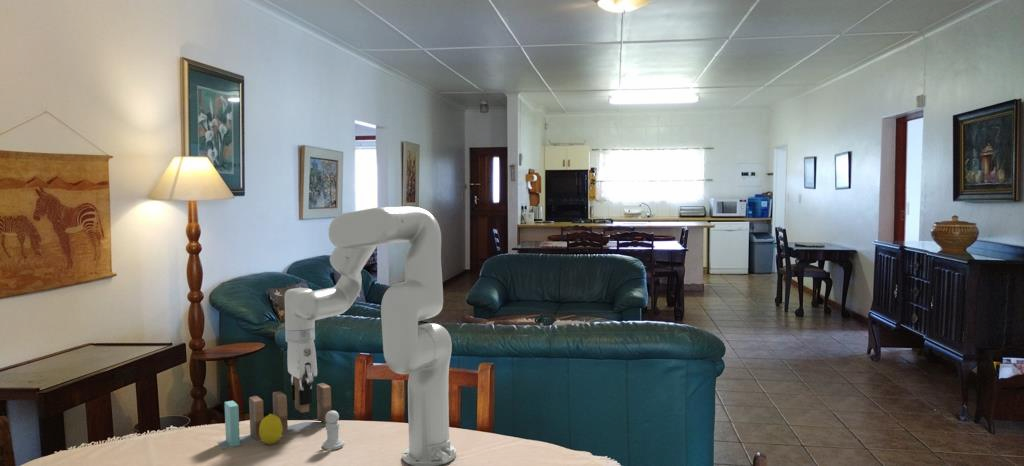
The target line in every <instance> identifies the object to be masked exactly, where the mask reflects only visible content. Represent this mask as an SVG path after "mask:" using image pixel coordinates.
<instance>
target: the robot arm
mask: <svg viewBox="0 0 1024 466" xmlns="http://www.w3.org/2000/svg"><path fill="white" fill-rule="evenodd" d="M328 238H329V240H330V242H331V244H332V245H333V246H334V247H335V248H334V250H333V251H332V252H331V253H330V255H329V264H330V265H331V267H332V268H333V269H334V270H335V271H336V272H337V273H339V274H340V278H339V279H338V280H337V282H336V284H335V285H334V286H333V287H328V288H322V289H321V288H320V289H317V290H313V289H311V288H307V287H295V288H290V289H288V290H286V291H285V293H284V327H285V335H284V337H285V342H286V343H287V351H286V352H287V355H286V358H287V359H286V363H287V372H288V373H289V374H290V377H291V378H290V385H291V400H293V401H295V386H294V377H296V378H298V379H299V382H300V390H299V404H300V405H306V404H309V405H310V404H312V402H313V399H312V398H313V393H312V391H313V390H312V389H313V382H314V378H317V376H318V367H317V366H318V365H317V364H318V363H317V362H318V361H317V352H316V345H315V341H314V340H316V327H315V326H316V323H315V322H316V321H318V320H323V319H326V318H331V317H334V316H335V317H336V316H338V315H342V314H344V313H345V312H346V311H348V310H349V309H350V308H351V306H353V304H354V302H355V300H356V299H357V298H358V296H359V294H360V293H361V290H362V283H363V282H362V281H363V278H362V273H361V272H362V270H363V269H364V267H365V266H366V264H367V262H368V261H369V259H370V258H371V256H372V255H373V253H374V252H375V250H376V248H377V247H378V246H380V245H389V244H399V243H408V244H409V246H408V248H407V251H406V253H405V257H404V270H405V271H404V273H405V274H404V277H405V279H404V281H401V282H397V283H395V284H393V285H391V286H389V287H388V288H387V290H385V292H384V294H383V296H382V298H381V299H382V300H381V305H380V316H381V318H380V319H381V320H380V321H381V336H382V350H383V357H384V360H385V362H386V365H387V366H388V368H389V369H390V370H391V371H393V373H396V374H399V375H407V374H408V380H407V414H408V418H407V419H408V447H407V448H405V449H404V450H403V452H402V461H404V463H406V464H407V465H409V466H442V465H446V464H447V463H449V462H452V461H453V460H454V459H455V458H456V457H457V449H456V448H455V447H454V446H453V445H452V444H451V440H450V418H449V416H450V411H449V409H450V408H449V407H450V406H449V405H450V404H449V374H450V373H449V370H450V363H451V357H452V350H453V349H452V346H453V345H452V338H451V335H450V333H449V331H448V330H447V328H445V327H444V326H442V325H441V324H438V323H431V322H430V323H429V322H428V323H424V324H420V325H419V322H421V321H425V320H428V319H431V318H433V317H436V316H437V315H439V314H440V313H441V312H442V310H443V308H444V306H443V305H444V288H443V287H444V286H443V272H442V270H443V269H442V232H441V228H440V225H439V222H438V220H437V219H436V217H434V215H433V214H432V213H431V212H429V211H428V210H426V209H424V208H421V207H417V206H409V205H407V206H383V207H382V206H381V207H372V208H367V209H366V208H365V209H361V210H360V209H359V210H356V211H355V210H354V211H351V212H349V211H348V212H343V213H340V214H338V215H336V216H335V217H334V218H333V219H332V221H331V222H330V224H329V228H328ZM302 376H306V377H307V378H303V377H302ZM303 380H306V382H304V384H303Z"/></svg>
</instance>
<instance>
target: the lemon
mask: <svg viewBox="0 0 1024 466" xmlns="http://www.w3.org/2000/svg"><path fill="white" fill-rule="evenodd" d="M282 432H283V426H282V422H281V420H280V418H279V417H277V416H276V415H273V413H269V414H268V415H265V416H264V418H263V419H262V421H261V423H260V427H259V435H260V438H261V441H262V442H263V443H265V444H268V445H269V446H273V445H274V444H275V443H277V442H278V441H279V440H280V439H281V437H282V436H283V435H282ZM281 435H282V436H281Z"/></svg>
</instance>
